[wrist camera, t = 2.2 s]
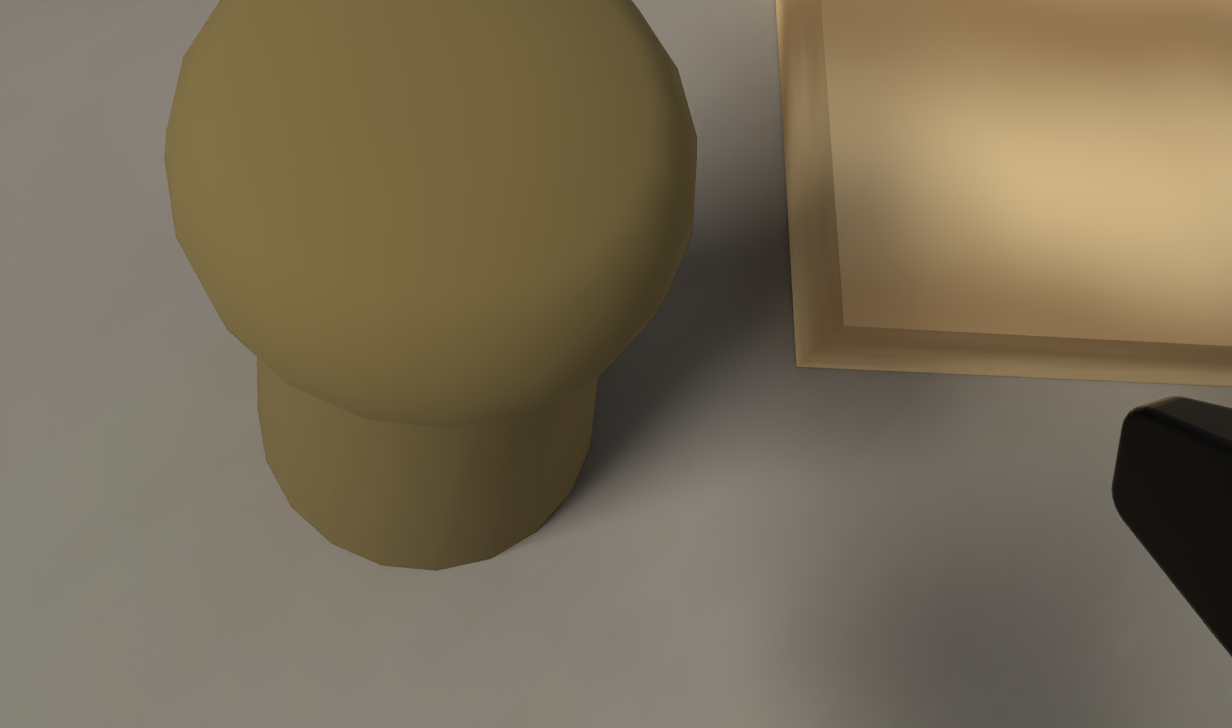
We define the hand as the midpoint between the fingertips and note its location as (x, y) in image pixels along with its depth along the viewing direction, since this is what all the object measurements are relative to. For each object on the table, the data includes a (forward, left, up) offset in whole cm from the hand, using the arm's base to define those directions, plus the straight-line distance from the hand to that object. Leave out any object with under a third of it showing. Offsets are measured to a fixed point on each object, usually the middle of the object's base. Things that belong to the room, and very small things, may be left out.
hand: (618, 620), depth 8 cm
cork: (+5, +1, -12) cm, 13 cm away
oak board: (+12, -12, -11) cm, 20 cm away
